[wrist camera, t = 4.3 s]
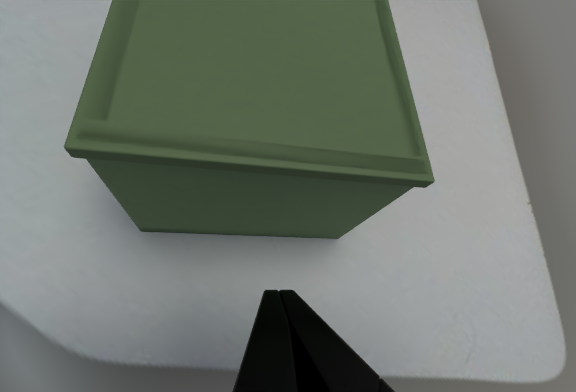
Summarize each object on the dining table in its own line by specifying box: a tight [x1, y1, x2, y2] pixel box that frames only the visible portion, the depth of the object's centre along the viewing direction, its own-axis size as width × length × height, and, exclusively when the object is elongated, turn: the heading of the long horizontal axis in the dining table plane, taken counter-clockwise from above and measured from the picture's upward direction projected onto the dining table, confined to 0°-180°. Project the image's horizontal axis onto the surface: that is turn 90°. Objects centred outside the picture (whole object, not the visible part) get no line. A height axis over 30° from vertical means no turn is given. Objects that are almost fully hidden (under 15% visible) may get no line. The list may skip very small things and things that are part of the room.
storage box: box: [64, 0, 434, 239], centre depth 17 cm, size 16×12×9 cm
